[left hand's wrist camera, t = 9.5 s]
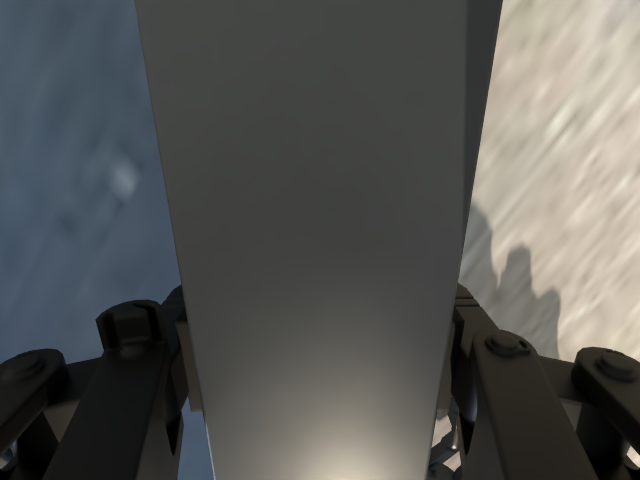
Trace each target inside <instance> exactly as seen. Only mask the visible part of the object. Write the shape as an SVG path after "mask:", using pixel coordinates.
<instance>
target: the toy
mask: <svg viewBox="0 0 640 480" xmlns="http://www.w3.org/2000/svg"><path fill="white" fill-rule="evenodd" d="M458 412H459V408H458V406H457V404H456V402H455V400H454V398H453V399H451V402H450V408H449V412H448V417H449V419H450V422H451V425H452V428H451V429H452V431H450V432H449V433H448V434H446V435H445V436H444V437H443V438H442V439H441V442H440V443H438V444H437V445H435V446H434V447H432V448H431V453H430V459H429V465H428V472H427V478H426V480H463V475H462V467H461V466H459V467H458V468H457V469H456V471H455V472H454V471H453V470H451V469H450V468H449V467H447V466H445V465H444V464H442V463H444V462H445V461H446V460H448V459H449V458H450V457H452V456H453V455H454V454H456V453H457V452H458V451H459V443H458V445H457V449H455V448H452V444H453V438H454V432H455V427H456V422H457V417H458Z"/></svg>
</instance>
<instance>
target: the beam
mask: <svg viewBox="0 0 640 480" xmlns="http://www.w3.org/2000/svg"><path fill="white" fill-rule="evenodd" d="M134 1H135V7H136V13H137V19H138V25H139V31H140V37H141V43H142V49H143V55H144V61H145V67H146V73H147V79H148V85H149V91H150V97H151V103H152V109H153V115H154V121H155V127H156V133H157V139H158V145H159V151H160V157H161V163H162V169H163V175H164V182H165V188H166V194H167V200H168V206H169V212H170V218H171V224H172V230H173V236H174V242H175V248H176V254H177V260H178V266H179V272H180V278H181V284H182V290H183V296H184V302H185V308H186V314H187V320H188V326H189V332H190V338H191V344H192V350H193V356H194V362H195V368H196V374H197V380H198V386H199V392H200V398H201V404H202V410H203V416H204V422H205V428H206V434H207V440H208V446H209V452H210V458H211V464H212V471H213V477H214V480H426V478H427V472H428V465H429V459H430V453H431V447H432V440H433V434H434V428H435V422H436V415H437V409H438V403H439V397H440V390H441V384H442V378H443V372H444V365H445V359H446V353H447V347H448V340H449V334H450V328H451V321H452V315H453V309H454V303H455V296H456V290H457V284H458V278H459V271H460V265H461V259H462V253H463V246H464V240H465V234H466V228H467V221H468V215H469V209H470V203H471V196H472V190H473V184H474V178H475V171H476V165H477V159H478V153H479V146H480V140H481V134H482V128H483V121H484V115H485V109H486V103H487V96H488V90H489V84H490V78H491V71H492V65H493V59H494V53H495V46H496V40H497V34H498V28H499V21H500V15H501V9H502V3H503V0H134Z"/></svg>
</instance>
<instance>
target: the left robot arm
mask: <svg viewBox="0 0 640 480" xmlns="http://www.w3.org/2000/svg"><path fill="white" fill-rule="evenodd" d="M96 323H97V327H98V330H99V334H100V338H101V341H102V345H103V349H104V352H103V354H102V357H99V358H95V359H91V360H86V361H81V362H76V363H71V364H66V363H65V360H64V357H63V354H62V353H61V352H60V351H58V350H55V349H48V348H47V349H39V350H32V351H28V352H24V353H22V354H19V355H17V356H15V357H13V358H11V359H9V360H7V361H5V362H3V363H2V364H0V480H177V476H178V468H179V460H180V452H181V444H182V436H183V428H184V424H183V417H182V412H181V410H182V407H183V405H184V403H185V401H186V399H187V396H188V398H189V404H190V409H191V412H203V410H202V404H201V398H200V392H199V386H198V380H197V374H196V368H195V362H194V356H193V350H192V344H191V338H190V332H189V326H188V320H187V314H186V308H185V302H184V296H183V290H182V284H181V285H180V286H178V287H177V288H175V289H174V290H173V291H172V292H171V293H170V295H169V296H168V297H167V298H166V300H165V301H164V302H163V303H162V305H160V304H159V303H157V302H156V301H151V300H134V301H129V302H124V303H121V304H118V305H116V306H113V307H111V308H109V309H108V310H106V311H104V312H103V313H101V314H100V315H99V316H98V318H97V319H96ZM452 395H453V397H454V400H455V402H456V404H457V406H458V408H459V412H458V417H457V422H456V427H455V432H454V438H453V444H452V448H455V449H457V445H458V443H459V451H460V459H461V467H462V475H463V480H640V468H639V467H638V466H637V465H636V464H634V463H633V462H632V461H631V459H630V458H629V457H628V456H627V455H626V454H627V452H628V450H629V448H630V446H632V447H633V448H634V450H635V451H636V452H637V453H638V454H639V455H640V362H638V361H637V360H635V359H633V358H631V357H629V356H626V355H624V354H623V353H621V352H618V351H615V350H614V351H613V350H611V349H607V348H598V347H587V348H582V349H581V350H580V351H579V352H577V355H576V358H575V361H574V363H572V362H567V361H562V360H557V359H552V358H547V357H543V356H539V355H538V354H537V352H536V350H535V349H534V348H533V346H532V345H531V344H530V343H529V342H528V341H526V340H525V339H523V338H522V337H520V336H518V335H516V334H513V333H511V332H508V331H504V330H500V329H499V328H498V327H497V326H496V325H495V323H494V322H493V321H492V320H491V318H490V317H489V316H488V315H487V313H486V312H485V311H484V310H483V308H482V307H480V305H479V303H478V302H477V301H476V300H475V299H474V298H473V296H472V295H471V293H470V292H469V291H468V290H467V288H465V287H464V286H462V285H460V284H459V283H458V284H457V290H456V296H455V303H454V309H453V315H452V321H451V328H450V334H449V340H448V347H447V353H446V359H445V365H444V372H443V378H442V384H441V390H440V397H439V403H438V409H437V412H449V408H450V402H451V396H452Z"/></svg>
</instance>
